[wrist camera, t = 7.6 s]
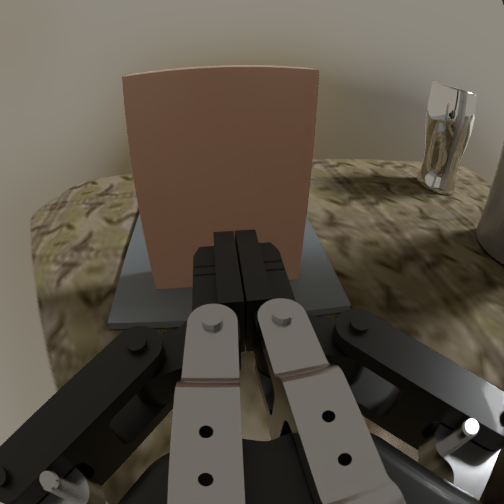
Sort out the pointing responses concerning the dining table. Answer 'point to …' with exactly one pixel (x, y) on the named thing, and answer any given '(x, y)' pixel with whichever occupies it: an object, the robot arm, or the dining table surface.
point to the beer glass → (446, 136)
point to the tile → (220, 159)
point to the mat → (180, 299)
